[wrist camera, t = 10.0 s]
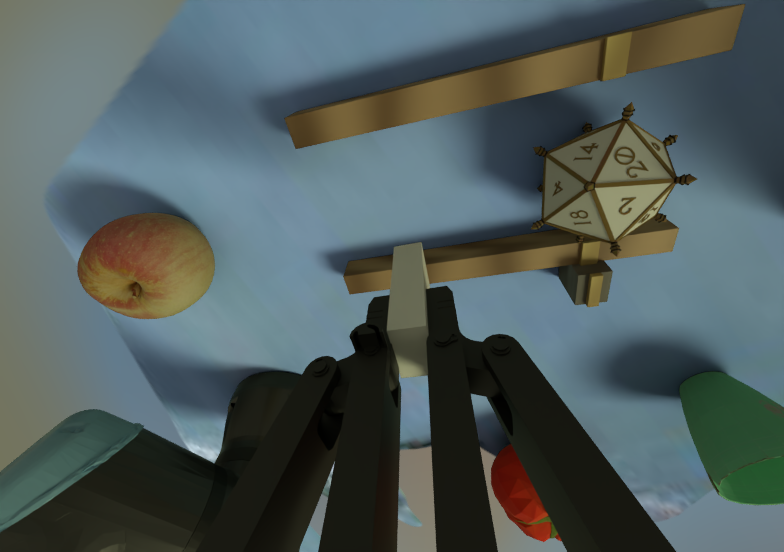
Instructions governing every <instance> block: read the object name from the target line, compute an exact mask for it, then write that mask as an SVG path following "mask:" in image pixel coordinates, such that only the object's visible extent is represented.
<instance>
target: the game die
mask: <svg viewBox="0 0 784 552" xmlns="http://www.w3.org/2000/svg"><path fill="white" fill-rule="evenodd" d="M623 110H624V111H623V112H622V116H623V118H622V119H620V120H618V121H615V122H612V123H610V124H607V125H604V126H602V127H599V128H597V129H594V130H592V127H591V126H592V124H589V123H587V122H586V123H585V125H584V127H583V128H582V129H584V130H583V131H584V132H585V133H584V134H582V135H580V136H578V137H576V138H574V139H572V140H570V141H568V142H566V143H564V144H562V145H560V146H558V147H556V148H554V149H552V150H550V151H548V152H547V151H546V150H545V148H542V146H540V147H533V148H534V150H535V153H536V154H538V155H539V156H543V157H544V166H543V185H540V186H539V187H538V188H537V189H538V190H539V191H540V192H542V218H541V220H540V221H536V222H535V223H533V226H532V228H531V229H538V230H539V228H540V227H542V225H543V224H547V225H550V226H553V227H556V228H559V229H562V230H565V231H568V232H571V233H575V234H578V236H577V238H576V239H575V240H576V241H577V242H578V244H579V243H581V242H584V237H588V238H591V239H595V240H598V241H602V242H606V243H609V244H611V247H610V249H611V252H610V253H613V254H614V255H615V256H616V257H617V256H618V254H619V252H620V251H621V249H620V246H619V245H618V244H617V243H618V241H620V240H621V239H623V238H624V237H626V236H627V235H629V234H630V233H632V232H633V231H635V230H636V229H637V228H639V227H640V226H642V225H643V224H645V223H646V222H648V221H649V220H651V219H652V218H655V221H658V223H660V222H667V219H666V215H663V214H660V213H659V214H658V212H659V210H660V208H661V207H662V205H663V204H664V202H665V200H666V199H667V197H668V196H669V194H670V192H671V191H672V189H673V188H674V186H675V184H677V183H679V184H681V185H684V184H686V185H689V184H690V183H691V182H693V181H695V180H697V178H695V177H693V176H691V175H690V174H688V175H685V174H684V175H682V176H680V177H677V176H676V173H675V171H674V168H673V165H672V162H671V159H670V157H669V154H668V151H667V148H666V146H668V145H672V143H675V142H676V139H677V137H678V135H669V136H668V137H667V138H665V140H664V141H663V142H662V141H660V140H659V139H657V138H656V137H654V136H653V135H651V134H650V133H648V132H647V131H645V130H644V129H642V128H641V127H639V126H638V125H636V124H635V123H633V122H632V121H630V120H629V118H630V117H631V116H632V115H633V111H635V109H634V107H633V104H632V102H631V103H630V104H629V105H628V106H627V107H625V108H623Z"/></svg>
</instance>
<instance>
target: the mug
mask: <svg viewBox="0 0 784 552" xmlns="http://www.w3.org/2000/svg"><path fill="white" fill-rule="evenodd" d="M679 393H680V398H681V402H682V407H683V412H684V415H685V418H686V421H687V424H688V428H689V431H690V434H691V436H692V439H693V441H694V444H695V446H696V449H697V451H698V454H699V456H700V459H701V461H702V463H703V465H704V468H705V470H706V472H707V474H708V476H709V479H710V481H711V483H712V485H713V487H714V489H715V490H716V492H717V493H718V495H720V496H721V497H723V498H724V499H726V500H728V501H732V502H736V503H740V504H749V505H777V504H784V407H782V406H781V405H779V404H777V403H776V402H774V401H773V400H771V399H769V398H768V397H766V396H764V395H763V394H761V393H760V392H758V391H756V390H755V389H753V388H751V387H749V386H748V385H746V384H744V383H742V382H740V381H738V380H736V379H734V378H733V377H731V376H729V375H727V374H725V373H722V372H714V371H712V372H704V373H700V374H697V375H694V376H692V377H690V378H688V379H687V380H685V381H684V382H683V383H682V384H681V385H680V388H679Z"/></svg>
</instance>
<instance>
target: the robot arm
mask: <svg viewBox="0 0 784 552" xmlns="http://www.w3.org/2000/svg"><path fill="white" fill-rule="evenodd" d="M366 319H367V320H366V323H364V324H361V325H359V326H357V327H356V328H355V329H354V330H353V331H352V332H351V334H350V339H351V341H352V344H353V346H354V349H355V353H354V354H353V355H351V356H349V357H347V358H344V359H342V360H339V361H336V360H335V359H334V358H333V357H330V356H322V357H319V358H317V359H315V360H314V361H312V362H311V363H310V364H309V365H308V366H307V367H306V369H305V371H304V372H303V374H302V376H300V375H296V374H291V373H285V372H264V373H259V374H255V375H252V376H250V377H248V378H246V379H244V380H243V381H242V382H241V383H240V384H239V385H238V387H237V389H236V391H235V392H234V394H233V396H232V398H231V400H230V403H229V406H228V415H227V419H226V424H225V430H224V436H223V442H222V448H221V451H220V453H219V456H218V458H217V460H216V462H215V464H214V463H212V462H211V461H209V460H207V459H205V458H203V457H201V456H199V455H197V454H195V453H193V452H191V451H189V450H187V449H185V448H183V447H180V446H179V445H177V444H174V443H172V442H170V441H168V440H166V439H164V438H162V437H160V436H158V435H156V434H154V433H152V432H150V431H148V430H146V429H144V428H143V427H144V426H143V425H141V424H140V423H135V424H133V423H131V422H129V421H126V420H124V419H121V418H119V417H117V416H115V415H112V414H110V413H108V412H105V411H102V410H97V409H90V410H84V411H81V412H78V413H75V414H73V415H71V416H69V417H68V418H66V419H65V420H63V421H62V422H61V423H59V424H58V425H57V426H56V427H54V428H53V429H52V430H51V431H50V432H48V433H47V434H46V435H44V436H43V437H42V438H40V439H39V440H38V441H37V442H36V443H34V444H33V445H32V446H31V447H30V448H28V449H27V450H26V451H25V452H24V453H22V454H21V455H20V456H19V457H17V458H16V459H15V460H14V461H13V462H11V463H10V464H9V465H8V466H7V467H5V468H4V469H3V470H2V471H1V472H0V552H299V549H300V546H301V543H302V541H303V538H304V536H305V533H306V531H307V528H308V526H309V523H310V521H311V518H312V516H313V513H314V511H315V508H316V506H317V504H318V501H319V498H320V496H321V494H322V491H323V489H324V486H325V484H326V481H327V479H328V476H329V474H330V472H331V469H332V467H333V464H334V462H335V464H334V469H333V475H332V480H331V486H330V491H329V496H328V503H327V507H326V513H325V518H324V523H323V529H322V535H321V540H320V545H319V550H318V552H397V528H398V490H399V452H400V414H401V386H400V383H399V372H400V376H401V378H407V377H416V376H425V375H428V387H429V407H430V427H431V447H432V466H433V467H432V468H433V488H434V507H435V528H436V547H437V552H498V550H497V544H496V538H495V532H494V527H493V522H492V515H491V510H490V504H489V498H488V492H487V486H486V481H485V475H484V470H483V464H482V457H481V452H480V446H479V440H478V434H477V428H476V423H475V417H474V411H473V405H472V400H471V394H476V395H481V396H486V397H487V399H488V401H489V403H490V404H491V406H492V408H493V410H494V412H495V414H496V416H497V418H498V420H499V422H500V424H501V426H502V427H503V429H504V431H505V433H506V435H507V437H508V439H509V441H510V443H511V445H512V447H513V449H514V450H515V452H516V454H517V456H518V458H519V460H520V462H521V464H522V466H523V468H524V470H525V472H526V473H527V475H528V477H529V479H530V481H531V483H532V485H533V487H534V489H535V491H536V493H537V495H538V496H539V498H540V500H541V502H542V504H543V506H544V508H545V510H546V512H547V514H548V516H549V518H550V519H551V521H552V523H553V525H554V527H555V529H556V531H557V533H558V535H559V537H560V539H561V540H562V542H563V544H564V546H565V548H566V550H567V552H676V551H675V550H674V548H673V547H672V546H671V544H670V543H669V542H668V540H667V539H666V538H665V536H664V535H663V534H662V532H661V531H660V530H659V528H658V527H657V526H656V524H655V523H654V522H653V520H652V519H651V518H650V516H649V515H648V514H647V512H646V511H645V510H644V508H643V507H642V506H641V504H640V503H639V502H638V500H637V499H636V498H635V496H634V495H633V494H632V492H631V491H630V490H629V488H628V487H627V486H626V484H625V483H624V482H623V480H622V479H621V478H620V476H619V475H618V474H617V472H616V471H615V470H614V469H613V467H612V466H611V465H610V463H609V462H608V461H607V459H606V458H605V457H604V455H603V454H602V453H601V451H600V450H599V449H598V447H597V446H596V445H595V443H594V442H593V441H592V439H591V438H590V437H589V435H588V434H587V433H586V431H585V430H584V429H583V427H582V426H581V425H580V423H579V422H578V421H577V419H576V418H575V417H574V415H573V414H572V413H571V411H570V410H569V409H568V407H567V406H566V405H565V403H564V402H563V401H562V399H561V398H560V397H559V395H558V394H557V393H556V391H555V390H554V389H553V387H552V386H551V385H550V384H549V382H548V381H547V380H546V378H545V377H544V376H543V374H542V373H541V372H540V370H539V369H538V368H537V366H536V365H535V364H534V362H533V361H532V360H531V358H530V357H529V356H528V354H527V353H526V352H525V350H524V349H523V348H522V346H521V345H520V344H519V342H518V341H517V340H515V339H514V338H513V337H511V336H508V335H504V334H496V335H491V336H489V337H487V338H486V339H485V340H484V341H483V342H479V341H473V340H470V339H468V338H466V337H464V336H463V335H462V334H461V332H460V330H459V326H458V321H457V315H456V309H455V304H454V298H453V292H452V291H451V290H450V289H449V288H448V287H447V286H443V287H436V288H430V285H429V279H428V274H427V268H426V263H425V258H424V253H423V248H422V243H421V242H419V243H413V244H407V245H401V246H396V247H394V253H393V265H392V276H391V287H390V295H387V296H380V297H374V298H373V300H372V301H371V302H370V304H369V306H368V314H367V318H366ZM470 393H471V394H470Z"/></svg>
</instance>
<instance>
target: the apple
mask: <svg viewBox="0 0 784 552" xmlns="http://www.w3.org/2000/svg"><path fill="white" fill-rule="evenodd" d="M214 270H215V261H214V255H213V251H212V249H211V246H210V244H209V242H208V241H207V239H206V237H205V236H204V235H203V234H202V233H201V231H200V230H199V229H198V228H197V227H196V226H195V225H193V224H192V223H190V222H188V221H186V220H184V219H182V218H180V217H177V216H174V215H169V214H163V213H142V214H135V215H130V216H125V217H122V218H119V219H117V220H114V221H112V222H110V223H108V224H106V225H105V226H103V227H102V228H101V229H100V230H98V231H97V232H96V233H95V234H94V235H93V236H92V237H91V238H90V240H89V241H88V242H87V244H86V245H85V247H84V249H83V251H82V253H81V256H80V258H79V261H78V276H79V280H80V282H81V284H82V286H83V288H84V289H85V291H86V292H87V293H88V294H89V295H90V296H91V297H93V298H94V299H95V300H97V301H98V302H100V303H101V304H103V305H104V306H106V307H108V308H109V309H111V310H113V311H115V312H117V313H120V314H123V315H125V316H128V317H133V318H139V319H157V318H163V317H168V316H172V315H175V314H177V313H179V312H181V311H183V310H185V309H187V308H188V307H190V306H191V305H192V304H194V303H195V302H196V301H198V300H199V299H200V298H201V297H202V296H203V295H204V294H205V292H206V291H207V290H208V288H209V286H210V284H211V282H212V279H213V276H214Z"/></svg>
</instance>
